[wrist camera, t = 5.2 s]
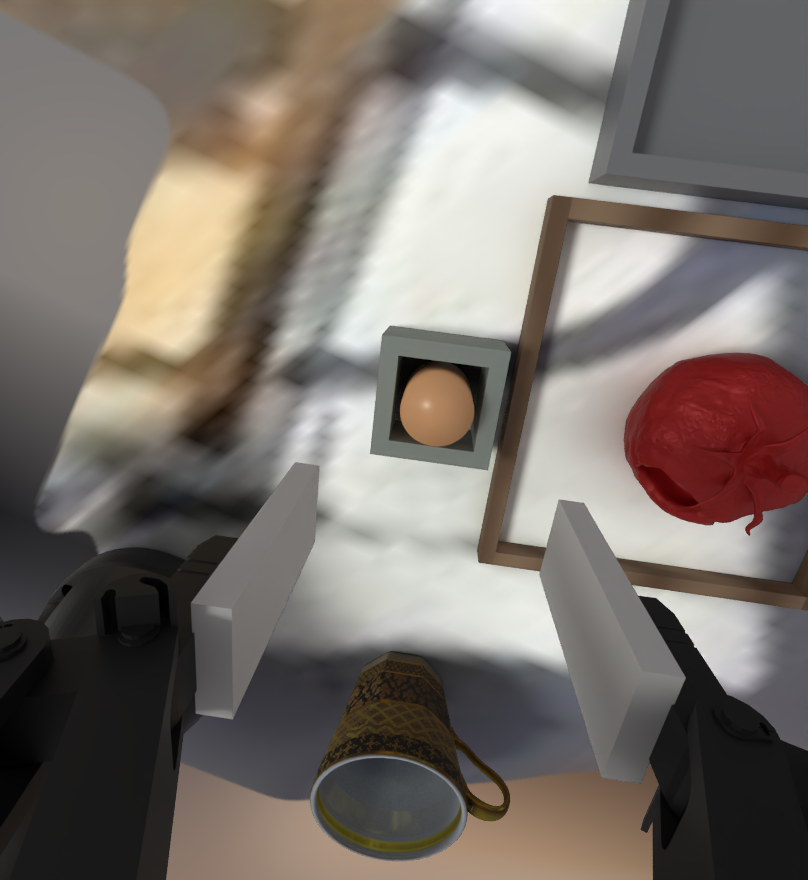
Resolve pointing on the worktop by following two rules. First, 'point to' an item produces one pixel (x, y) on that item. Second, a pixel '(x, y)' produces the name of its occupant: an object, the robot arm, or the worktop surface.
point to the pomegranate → (721, 438)
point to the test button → (437, 404)
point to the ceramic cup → (397, 767)
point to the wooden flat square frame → (559, 210)
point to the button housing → (446, 348)
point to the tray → (710, 101)
